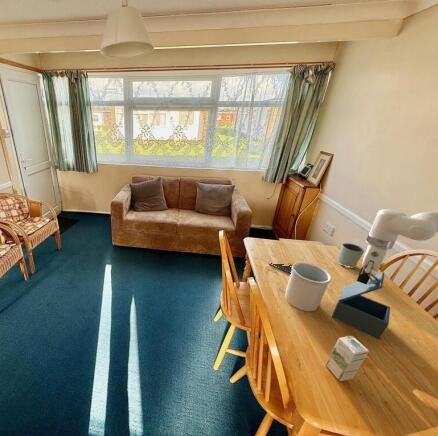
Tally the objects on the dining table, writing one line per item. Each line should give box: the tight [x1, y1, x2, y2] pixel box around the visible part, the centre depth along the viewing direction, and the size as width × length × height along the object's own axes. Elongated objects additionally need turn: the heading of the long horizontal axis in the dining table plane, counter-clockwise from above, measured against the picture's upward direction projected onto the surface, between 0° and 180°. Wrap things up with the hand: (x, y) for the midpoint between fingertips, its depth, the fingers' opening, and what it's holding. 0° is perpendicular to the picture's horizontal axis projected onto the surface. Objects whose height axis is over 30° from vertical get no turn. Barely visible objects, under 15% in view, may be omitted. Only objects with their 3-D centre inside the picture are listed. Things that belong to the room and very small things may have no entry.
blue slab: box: [337, 269, 385, 302], centre depth 97 cm, size 16×13×6 cm
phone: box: [271, 263, 293, 274], centre depth 135 cm, size 8×1×15 cm
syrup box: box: [325, 335, 370, 382], centre depth 77 cm, size 6×6×14 cm
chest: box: [331, 294, 391, 340], centre depth 98 cm, size 16×13×9 cm
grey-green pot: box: [337, 242, 366, 267], centre depth 135 cm, size 10×10×12 cm
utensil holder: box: [284, 261, 332, 312], centre depth 107 cm, size 15×15×18 cm
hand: (362, 278), depth 95 cm, fingers closed on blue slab, 5 cm apart
